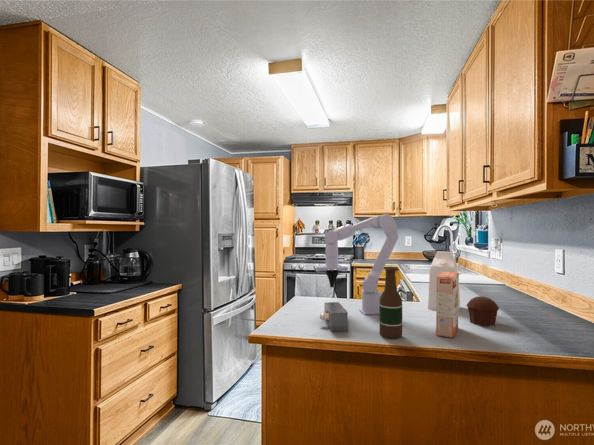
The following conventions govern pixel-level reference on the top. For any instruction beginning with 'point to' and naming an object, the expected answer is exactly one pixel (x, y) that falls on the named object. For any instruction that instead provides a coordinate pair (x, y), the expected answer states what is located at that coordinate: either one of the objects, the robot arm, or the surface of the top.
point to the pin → (324, 316)
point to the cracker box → (447, 304)
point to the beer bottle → (390, 308)
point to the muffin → (482, 311)
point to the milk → (438, 266)
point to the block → (336, 317)
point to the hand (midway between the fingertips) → (332, 287)
